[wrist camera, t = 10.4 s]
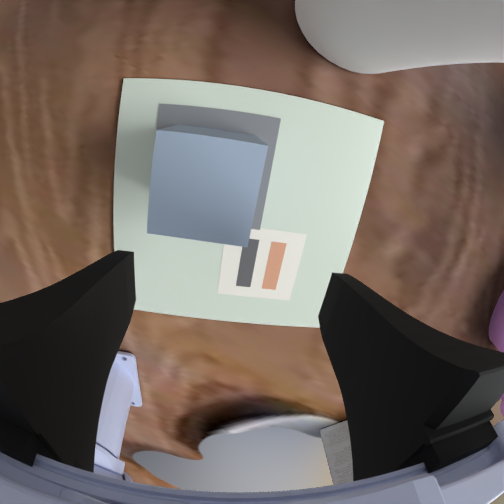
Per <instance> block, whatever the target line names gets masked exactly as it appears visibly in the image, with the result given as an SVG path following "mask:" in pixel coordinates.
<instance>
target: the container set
mask: <svg viewBox="0 0 504 504" xmlns="http://www.w3.org/2000/svg"><path fill="white" fill-rule="evenodd" d="M488 335H489V339H490V341H491V342H492V343H493V344H494V345H495V347H496V348H497V349H498V350H499V351H500V352H504V289H503V291H502V293H501V295H500V297H499V299H498V301H497V304H496V306H495V308H494V310H493V314H492V316H491V319H490V324H489V333H488ZM499 399H502V402H501V413H502V415H503V416H504V394H503V395H502V396H501V397H500V398H499Z"/></svg>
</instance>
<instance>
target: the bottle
mask: <svg viewBox="0 0 504 504" xmlns="http://www.w3.org/2000/svg"><path fill="white" fill-rule="evenodd" d="M295 13H296V18H297V22H298V24H299V26H300V29H301V31H302V33H303V35H304V36H305V38H306V39H307V41H308V42H309V43H310V44H311V45H312V47H313V48H314V49H315V50H316V51H317V52H318V53H320V54H321V55H322V56H323V57H325V58H326V59H327V60H329V61H330V62H332V63H334V64H336V65H337V66H339V67H341V68H344V69H347V70H349V71H352V72H357V73H362V74H378V73H384V72H390V71H396V70H403V69H410V68H418V67H426V66H436V65H447V64H461V63H489V62H503V63H504V0H295Z"/></svg>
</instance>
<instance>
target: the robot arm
mask: <svg viewBox="0 0 504 504" xmlns="http://www.w3.org/2000/svg"><path fill="white" fill-rule="evenodd" d="M135 302H136V290H135V269H134V252H131V251H123V250H117V251H114V252H112V253H110V254H108V255H107V256H105V257H103V258H101V259H100V260H98V261H96V262H94V263H93V264H91V265H89V266H87V267H86V268H84V269H82V270H80V271H78V272H76V273H75V274H73V275H71V276H69V277H67V278H65V279H63V280H61V281H59V282H57V283H55V284H53V285H51V286H49V287H46V288H44V289H41V290H39V291H37V292H34V293H31V294H28V295H25V296H22V297H19V298H16V299H13V300H10V301H7V302H3V303H0V504H489V503H491V502H492V501H494V500H495V499H496V498H498V497H499V496H500V495H501V494H503V493H504V419H503V420H501V421H500V422H498V423H497V424H496V425H494V426H492V424H491V423H490V420H492V419H493V417H494V414H493V413H492V411H491V408H492V407H493V405H494V404H495V403H496V402H497V401H498V400H499V398H500V397H501V396H502V395H503V394H504V352H500V351H495V350H491V349H487V348H483V347H479V346H476V345H473V344H470V343H467V342H464V341H462V340H459V339H456V338H454V337H451V336H449V335H447V334H445V333H442V332H440V331H438V330H436V329H434V328H432V327H430V326H428V325H426V324H424V323H422V322H421V321H419V320H417V319H415V318H413V317H412V316H410V315H408V314H407V313H405V312H404V311H402V310H401V309H399V308H398V307H396V306H395V305H393V304H392V303H390V302H389V301H387V300H386V299H384V298H383V297H382V296H380V295H379V294H377V293H376V292H374V291H373V290H372V289H370V288H369V287H367V286H366V285H364V284H363V283H362V282H360V281H358V280H357V279H355V278H354V277H352V276H350V275H348V274H343V273H332V275H331V278H330V281H329V284H328V287H327V291H326V294H325V297H324V300H323V303H322V306H321V309H320V312H319V315H318V319H319V325H320V330H321V334H322V339H323V342H324V344H325V347H326V350H327V353H328V356H329V358H330V361H331V364H332V366H333V369H334V372H335V375H336V377H337V380H338V383H339V386H340V389H341V393H342V397H343V401H344V406H345V411H346V416H347V422H348V428H349V434H350V442H351V452H352V464H353V482H348V483H342V484H337V485H331V486H324V487H317V488H309V489H301V490H289V491H276V492H252V493H251V492H249V493H248V492H247V493H235V492H234V493H232V492H231V493H230V492H207V491H192V490H182V489H173V488H166V487H158V486H152V485H146V484H140V483H135V482H132V479H131V477H130V476H129V474H127V473H125V472H123V470H124V465H125V462H123V461H121V460H119V455H120V450H121V445H122V440H123V436H124V431H125V426H126V422H127V417H128V413H129V409H130V405H132V406H137V407H140V406H142V398H141V392H140V385H139V379H138V372H137V365H136V358H135V356H134V355H133V354H131V353H127V352H121V351H118V350H119V348H120V345H121V343H122V340H123V338H124V335H125V333H126V331H127V328H128V326H129V323H130V320H131V317H132V313H133V309H134V306H135Z"/></svg>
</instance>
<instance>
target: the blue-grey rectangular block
mask: <svg viewBox="0 0 504 504" xmlns="http://www.w3.org/2000/svg"><path fill="white" fill-rule="evenodd" d="M267 150H268V145H267V144H266V143H264V142H263V141H262V140H261V139H260V138H259V137H257V136H255V135H249V134H243V133H237V132H231V131H225V130H218V129H211V128H204V127H196V126H188V125H175V126H170V127H166V128H162V129H158V130H156V137H155V145H154V153H153V162H152V171H151V181H150V192H149V205H148V220H147V233H148V234H155V235H163V236H170V237H177V238H184V239H191V240H198V241H205V242H212V243H219V244H227V245H234V246H241V247H248V242H249V238H250V233H251V228H252V223H253V218H254V213H255V208H256V203H257V198H258V193H259V189H260V184H261V179H262V174H263V169H264V164H265V160H266V155H267Z"/></svg>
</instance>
